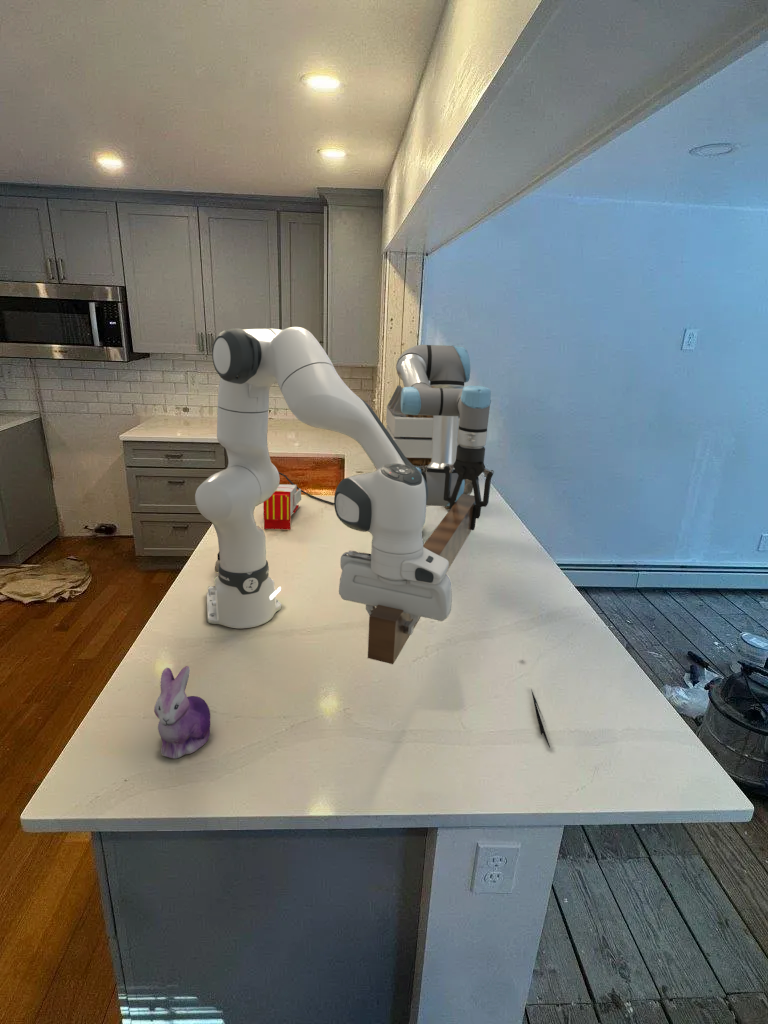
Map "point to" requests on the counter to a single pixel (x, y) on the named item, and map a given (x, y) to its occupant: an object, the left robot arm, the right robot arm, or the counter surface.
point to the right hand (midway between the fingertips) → (463, 526)
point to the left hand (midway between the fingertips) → (392, 628)
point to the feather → (539, 718)
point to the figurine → (180, 716)
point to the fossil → (466, 489)
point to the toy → (281, 507)
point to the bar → (447, 544)
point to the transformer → (410, 431)
